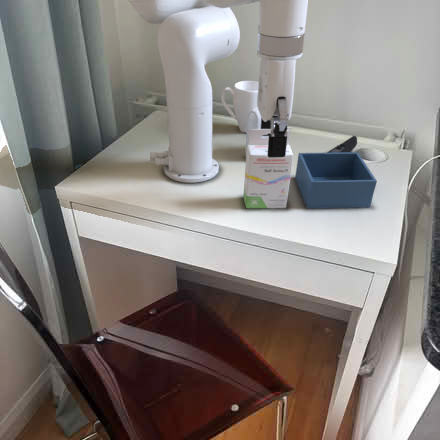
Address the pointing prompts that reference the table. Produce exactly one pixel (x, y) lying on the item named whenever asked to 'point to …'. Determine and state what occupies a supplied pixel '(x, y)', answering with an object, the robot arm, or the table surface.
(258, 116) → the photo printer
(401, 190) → the table surface
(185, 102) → the robot arm
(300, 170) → the holder
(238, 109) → the mug
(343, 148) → the electric trimmer
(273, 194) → the ink box
